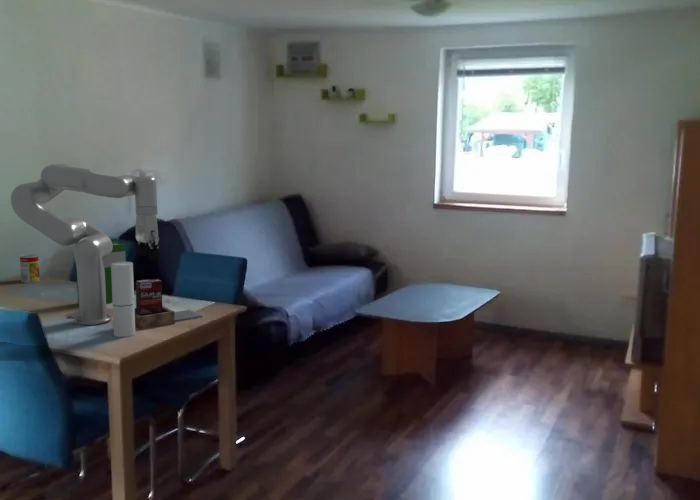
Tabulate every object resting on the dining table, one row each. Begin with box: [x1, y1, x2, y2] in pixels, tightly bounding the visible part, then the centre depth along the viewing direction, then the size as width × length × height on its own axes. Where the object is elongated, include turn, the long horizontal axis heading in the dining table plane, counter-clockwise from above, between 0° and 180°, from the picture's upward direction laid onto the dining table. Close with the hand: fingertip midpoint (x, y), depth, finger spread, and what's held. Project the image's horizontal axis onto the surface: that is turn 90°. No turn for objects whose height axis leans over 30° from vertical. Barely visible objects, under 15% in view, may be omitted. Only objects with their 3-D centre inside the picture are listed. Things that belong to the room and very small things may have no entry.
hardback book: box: [75, 241, 127, 305], centre depth 282 cm, size 18×7×24 cm, turn 131°
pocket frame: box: [134, 305, 176, 330], centre depth 254 cm, size 13×13×4 cm
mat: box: [174, 309, 203, 323], centre depth 263 cm, size 11×11×1 cm
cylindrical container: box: [111, 261, 136, 338], centre depth 237 cm, size 7×7×25 cm
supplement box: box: [135, 278, 163, 316], centre depth 253 cm, size 9×5×16 cm, turn 124°
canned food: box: [19, 253, 41, 284], centre depth 320 cm, size 8×8×12 cm
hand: (148, 257), depth 250 cm, fingers open, 9 cm apart
